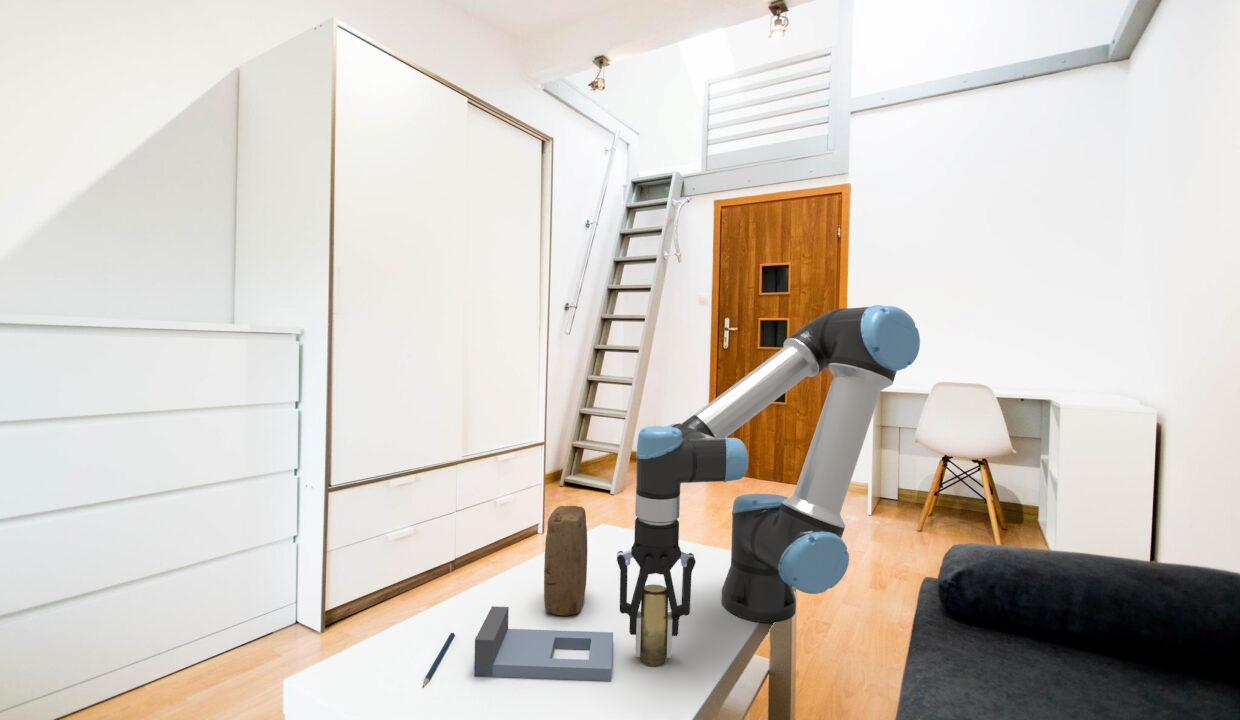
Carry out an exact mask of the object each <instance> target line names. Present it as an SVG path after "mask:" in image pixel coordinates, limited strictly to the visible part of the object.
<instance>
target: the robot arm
mask: <svg viewBox="0 0 1240 720" xmlns="http://www.w3.org/2000/svg"><path fill="white" fill-rule="evenodd" d="M920 336H921V335H920V333H919V329H918V328H917V327H916V322H915V320H914V319H913V317H912V316H911V315H910V314H909V313H908V312H907V311H905V310H903V309H901V308H900V307H897V306H894V305H893V306H892V305H878V304H875V305H871V306H864V307H863V306H862V307H852V308H851V307H849V308H836V309H833V310H830V311H827V312H826V313H823V314H821V315H820V316H818V317H816V318H814V319H813V320H811V321H810V322H808V323H806V324H805V325H804V326H802V327H801V328H800V329H798V330H797V331H796V332H795V333H793V334H792V335H790V336H789V337H787V338H786V339H785V340H784V342H783V345H782V346H783V347H782V348H781V349H779V350H778V351H777V352H776V353H775V354H773V355H772V356H770V357H769V358H767V359H766V360H765V361H764V362H763V363H761V364H759V366H757V367H756V368H754V369H753V370H751V372H749V373H748V374H746V375H745V376H744V377H742V378H741V379H740V380H738V381H737V382H735V384H733V385H732V386H731V387H730V386H729V388H728V389H726V390H725V391H724V392H723V393H721V394H720V395H718V396H717V397H715V399H713V400H712V401H710V402H709V403H708V404H706V405H705V406H704V407H702V408H701V409H700V410H698V411H697V412H696V413H694V414H693V415H692V416H690V417H689V418H687V419H686V420H685V421H683V422H682V423H680V422H679V423H672V424H669V425H667V426H666V425H665V426H663V425H662V426H661V425H652V426H646V427H643V428H641V429H640V431H638V436H637V437H638V438H637V445H636V453H635V456H636V480H635V481H636V488H635V491H636V492H635V503H634V506H635V510H634V513H635V517H636V518H635V519H634V540H633V544H632V546H631V548H630V550H629V549H628V550H626V551H623V550H618V551H617V554H616V562H617V564H618V567H619V570H620V571H619V573H620V574H619V612H620V614H622V615H623V614H626V615H628V616H629V627H628V628H629V634H630V635H632V636H635V646H634V648H635V649H634V650H635V657H640V644H641V610H639V609H640V607H641V599H642V595H643V591H644V588H645V586H646V583H647V581H648V578H649V575H653V574H658V575H660V576H661V575H663V578H664V579H663V580H664V583H665V587H666V589H667V594H668V604H669V607H670V611H668V618H667V649H666V659H667V658H672V647H673V646H672V642H673V637H678V635H679V625H680V622H679V621H680V618H681V617H683V616H689V615H690V614H691V598H692V597H691V596H692V595H691V594H692V593H691V592H692V573H693V570H694V568H695V566H696V562H697V561H696V557H695V556H694V553H692V552H689V553H687V552H684V551H682V549H681V547H680V546H679V545H680V544H679V538H680V536H679V535H680V521H679V520H678V519H679V518H680V512H681V511H680V505H681V504H680V503H681V501H680V500H681V499H680V498H681V484H688V483H689V484H690V483H714V482H715V483H718V482H723V483H727V482H731V481H738V480H741V479H743V478H744V477H745V476H746V473H747V471H748V467H749V453H748V450H747V447H746V444H745V443H744V441H742V440H741V439H740V438H737V437H729V436H731V435H732V434H733V433H734V432H735V431H737V430H738V429H739V428H741V427H742V426H743V425H744V424H745V425H746V423H748V422H749V421H750V420H752V418H754V417H755V416H756V415H758V414H759V413H760V412H762V411H763V410H765V409H766V408H767V407H768V406H770V405H771V404H772V403H774V402H775V401H776V400H777V399H779V398H781V396H783V395H784V394H785V393H786V392H788V391H789V390H790V389H792V388H794V386H796V385H797V384H799V383H800V382H801V381H802V380H803V379H805V378H807V377H809V378H811V377H812V378H813V377H815V376H817V375H819V374H820V373H821V372H822V371H824V370H826V369H829V371H830V373H831V375H832V380H831V383H830V386H829V389H828V392H827V394H826V398H825V401H824V404H823V407H822V409H821V412H820V415H819V418H818V422H817V424H816V427H815V430H814V434H813V437H812V439H811V441H810V445H809V448H808V451H807V454H806V456H805V460H804V463H803V465H802V469H801V471H800V474H799V478H798V481H797V483H796V486H795V488H794V491H793V492H794V493H793V495H791V496H790V497H788V496H784V495H779V494H774V493H747V494H741V495H738V496H736V497H735V499H734V500H733V505H732V512H731V515H732V518H731V520H732V522H731V527H732V528H731V548H730V549H731V552H730V554H731V556H730V557H731V559H730V567H729V569H728V572H727V574H726V576H725V580H724V582H723V585H722V587H721V595H720V596H721V601H720V602H721V604H722V606H723V607H724V608H725V609H726V610H727V611H728V612H730V613H731V614H733V615H735V616H738V617H740V618H742V619H745V620H748V619H749V620H748V621H752V620H754V621H753V622H757V621H759V622H760V623H779V622H780V623H781V622H784V621H787V620H789V619H791V618H793V616H795V614H796V612H797V611H796V609H797V598H796V594H795V592H794V591H795V590H794V589H793V588H795V589H796V590H798V591H799V592H802V593H805V594H809V595H818V594H822V593H824V592H826V591H827V590H828V589H832V588H834V587H835V586H837V585H838V584H839V582H840V581H841V580H842V579H843V578H844V576H845V574H846V573H847V570H848V567H849V564H850V563H849V561H850V553H849V552H848V547H847V545H846V543H845V542H844V541H843V538H842V537H843V535H844V531H845V528H846V523H845V521H844V520H843V518H842V516H841V511H842V509H843V505H844V503H845V499H846V497H847V493H848V490H849V487H850V485H851V481H852V478H853V475H854V473H855V469H856V466H857V464H858V460H859V457H860V454H861V451H862V447H863V445H864V442H865V440H866V436H867V433H868V432H869V431H868V430H869V427H870V424H871V421H872V418H873V415H874V412H875V410H876V407H877V403H878V399H879V397H880V394H881V391H883V390H884V389H886V388H888V387H891V386H893V384H894V380H895V378H896V374H897V372H899V371H902V370H905V369H907V368H908V366H912V364H913V363H914V362H915V360H916V359H917V358H918V355H919V351H920V345H921V339H920ZM632 558H633V559H634V560H635V562H636V564H637V565H638V567H639V571H638V575H637V576H638V577H637V580H636V582H635V588H634V591H633V595H632V599H631V601H630V603H629V602H627V601H628V566H630V564H631V559H632ZM679 560H680V564H681V566H682V585H681V603H680V604H678V603H677V597H676V593H675V588H674V583H673V578H672V573H671V570H672V569H673V567H674V566H675V564H677V562H678V561H679ZM759 622H758V623H759Z"/></svg>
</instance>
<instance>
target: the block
mask: <svg viewBox="0 0 1240 720" xmlns="http://www.w3.org/2000/svg"><path fill="white" fill-rule="evenodd" d="M586 514H587V513H586V510H585V508H584V507H583V506H579V505H559V506H558V507H556V508H555V509H554V510H553V511H552V512H551V513H550V516H549V517H548V519H547V530H546V534H545V543H544V544H545V545H544V546H545V547H544V563H543V565H544V568H543V574H544V575H543V576H544V577H543V597H544V599H543V601H544V603H543V604H544V609H545V611H546V612H547V613H549V614H553V615H557V616H562V617H563V616H564V617H565V616H566V617H567V616H571V615H574V614H578V613H579V612H580V611H581V610H582V607H583V605H584V602H585V596H586V594H585V593H586V589H587V578H588V577H587V573H588V571H587V570H588V529H587V515H586Z"/></svg>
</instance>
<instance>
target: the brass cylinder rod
mask: <svg viewBox="0 0 1240 720" xmlns="http://www.w3.org/2000/svg"><path fill="white" fill-rule="evenodd" d="M640 611H641V644H640V657H639V662H640V664H642V665H644V666H645V667H649V668H659V667H662V666H664V665H665V664H666V663H667V656H666V649H667V618H668V612H669V598H668V594H667V589H666V586H663V585H661V584H648V585H646V584H645V588H644V591H643V595H642V599H641V602H640Z"/></svg>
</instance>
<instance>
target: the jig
mask: <svg viewBox="0 0 1240 720" xmlns="http://www.w3.org/2000/svg"><path fill="white" fill-rule="evenodd" d="M509 610H510V608H509V606H491V607H490V609H489V611H488V613H487V615H486V617H485V620H484V621H483V623H482V626H481V627H480V629H479V631H478V633H477V635H476V637H475V639H474V669H473V674H474V677H484V678H485V677H488V678H508V679H509V678H510V679H511V678H513V679H517V678H518V679H539V680H540V679H543V680H565V681H567V680H570V681H595V682H596V681H597V682H598V681H601V682H611V681H612V667H613V651H614V650H613V647H614V631H613V632H611V631H609V632H608V631H586V630H585V631H581V630H559V629H558V630H557V629H555V630H554V629H530V628H529V629H527V628H526V629H524V628H509ZM557 649H561V650H589V655H588V659H582V658H581V659H578V658H576V659H575V658H574V659H573V658H553V657H554V655H555V654H554V653H555V650H557Z"/></svg>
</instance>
